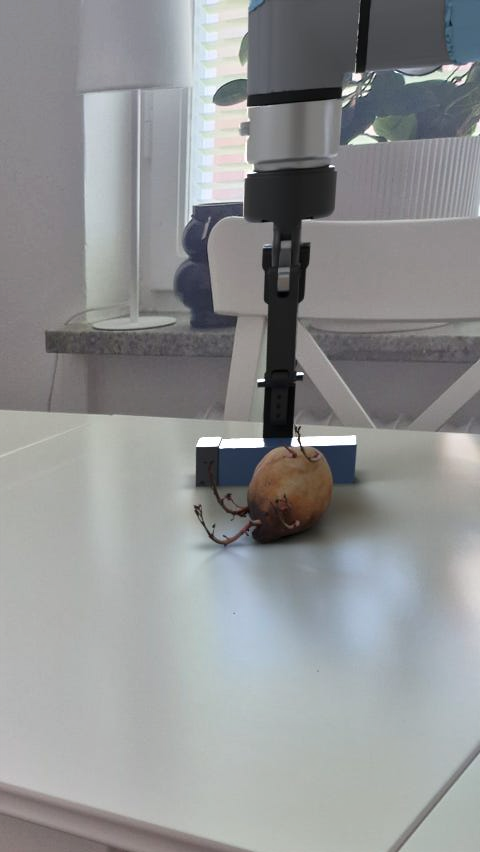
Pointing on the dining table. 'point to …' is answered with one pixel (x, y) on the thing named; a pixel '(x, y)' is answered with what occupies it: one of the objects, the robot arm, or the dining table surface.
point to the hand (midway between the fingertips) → (276, 458)
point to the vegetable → (280, 493)
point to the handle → (244, 455)
